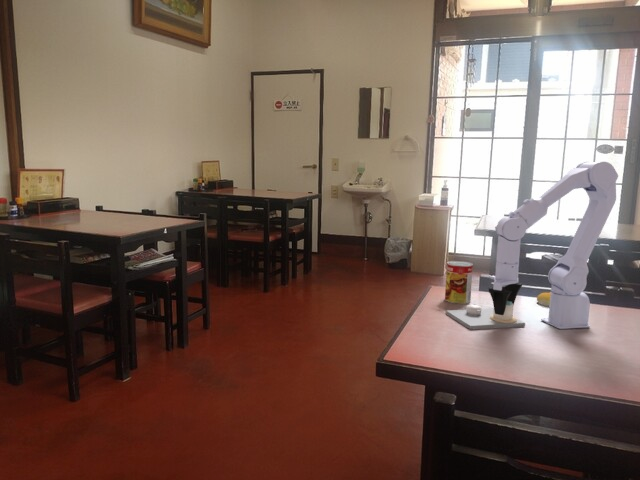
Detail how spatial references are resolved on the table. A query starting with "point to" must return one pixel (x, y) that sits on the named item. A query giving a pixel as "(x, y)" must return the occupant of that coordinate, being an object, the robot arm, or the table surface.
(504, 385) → the table surface
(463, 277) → the canned food
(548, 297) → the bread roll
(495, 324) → the post board
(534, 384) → the table surface
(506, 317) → the cap
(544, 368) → the table surface
